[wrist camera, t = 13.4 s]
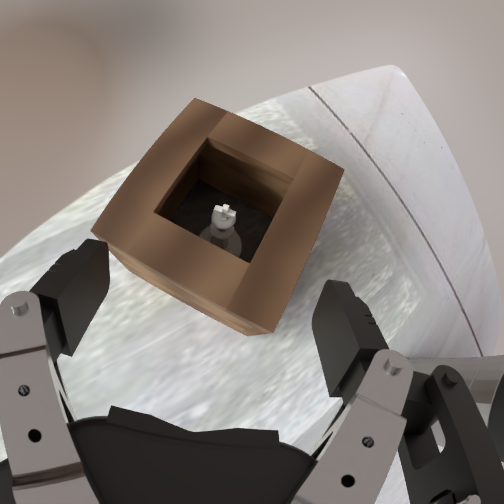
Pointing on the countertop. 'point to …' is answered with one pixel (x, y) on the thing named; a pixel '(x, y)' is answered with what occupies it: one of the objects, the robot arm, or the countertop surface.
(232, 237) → the chess piece
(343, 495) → the robot arm
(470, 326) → the countertop surface
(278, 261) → the walnut box
